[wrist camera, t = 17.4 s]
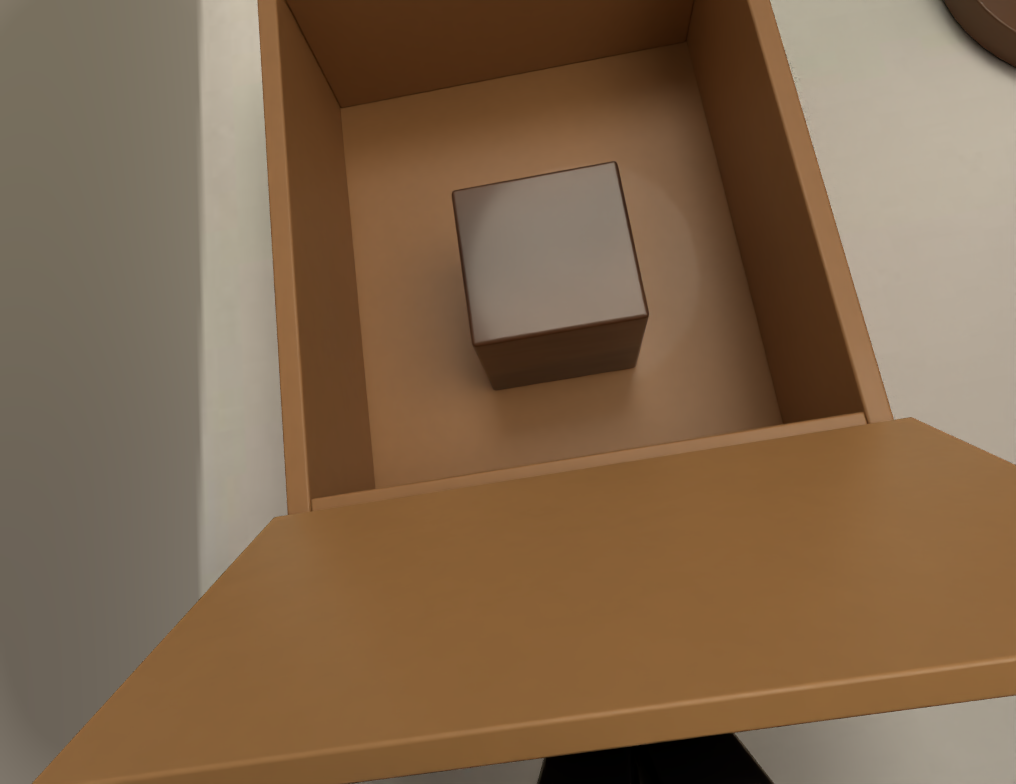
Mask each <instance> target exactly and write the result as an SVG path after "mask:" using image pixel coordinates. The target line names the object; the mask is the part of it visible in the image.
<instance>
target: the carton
mask: <svg viewBox="0 0 1016 784" xmlns="http://www.w3.org/2000/svg"><path fill="white" fill-rule="evenodd" d="M258 16H259V33H260V50H261V67H262V84H263V101H264V118H265V135H266V152H267V169H268V186H269V203H270V220H271V237H272V254H273V271H274V288H275V305H276V322H277V339H278V356H279V373H280V390H281V407H282V424H283V441H284V458H285V475H286V492H287V509H288V515H292V514H298V513H305V512H311V511H317V510H324V509H330V508H337V507H343V506H349V505H356V504H362V503H368V502H375V501H381V500H387V499H394V498H400V497H407V496H413V495H419V494H426V493H432V492H438V491H445V490H451V489H457V488H464V487H470V486H477V485H483V484H489V483H496V482H502V481H508V480H515V479H521V478H527V477H534V476H540V475H547V474H553V473H559V472H566V471H572V470H578V469H585V468H591V467H597V466H604V465H610V464H616V463H623V462H629V461H636V460H642V459H648V458H655V457H661V456H667V455H674V454H680V453H686V452H693V451H699V450H706V449H712V448H718V447H725V446H731V445H737V444H744V443H750V442H756V441H763V440H769V439H776V438H782V437H788V436H795V435H801V434H807V433H814V432H820V431H826V430H833V429H839V428H846V427H852V426H858V425H865V424H871V423H877V422H884V421H890V420H894V419H893V415H892V412H891V409H890V405H889V402H888V399H887V395H886V392H885V388H884V385H883V382H882V378H881V375H880V371H879V368H878V365H877V361H876V358H875V355H874V351H873V348H872V344H871V341H870V338H869V334H868V331H867V328H866V324H865V321H864V317H863V314H862V311H861V307H860V304H859V300H858V297H857V294H856V290H855V287H854V284H853V280H852V277H851V273H850V270H849V267H848V263H847V260H846V257H845V253H844V250H843V246H842V243H841V240H840V236H839V233H838V229H837V226H836V223H835V219H834V216H833V213H832V209H831V206H830V202H829V199H828V196H827V192H826V189H825V186H824V182H823V179H822V175H821V172H820V169H819V165H818V162H817V158H816V155H815V152H814V148H813V145H812V142H811V138H810V135H809V131H808V128H807V125H806V121H805V118H804V115H803V111H802V108H801V104H800V101H799V98H798V94H797V91H796V87H795V84H794V81H793V77H792V74H791V71H790V67H789V64H788V60H787V57H786V54H785V50H784V47H783V43H782V40H781V37H780V33H779V30H778V27H777V23H776V20H775V16H774V13H773V10H772V6H771V3H770V0H258ZM611 161H616V162H617V164H618V168H619V172H620V177H621V182H622V187H623V191H624V196H625V201H626V206H627V210H628V215H629V220H630V225H631V229H632V234H633V239H634V244H635V248H636V253H637V258H638V263H639V267H640V272H641V277H642V282H643V286H644V291H645V296H646V301H647V305H648V310H649V317H648V321H647V325H646V329H645V333H644V337H643V341H642V344H641V348H640V352H639V356H638V360H637V364H636V366H635V367H634V368H629V369H623V370H617V371H610V372H604V373H598V374H592V375H586V376H580V377H574V378H568V379H562V380H556V381H550V382H544V383H538V384H532V385H526V386H520V387H514V388H508V389H502V390H494V389H493V388H492V386H491V383H490V381H489V379H488V377H487V375H486V373H485V371H484V369H483V367H482V364H481V362H480V360H479V358H478V356H477V354H476V352H475V350H474V348H473V346H472V342H471V334H470V327H469V320H468V312H467V305H466V298H465V291H464V283H463V276H462V269H461V261H460V254H459V247H458V239H457V232H456V225H455V218H454V210H453V203H452V196H451V195H452V191H454V190H459V189H464V188H470V187H475V186H480V185H486V184H491V183H497V182H502V181H508V180H513V179H519V178H524V177H529V176H535V175H540V174H546V173H551V172H557V171H562V170H567V169H573V168H578V167H584V166H589V165H595V164H600V163H606V162H611Z"/></svg>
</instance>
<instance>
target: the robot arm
mask: <svg viewBox="0 0 1016 784" xmlns="http://www.w3.org/2000/svg"><path fill="white" fill-rule="evenodd" d="M537 784H774V783H773V781H772V780H771V779H770V778H769V776H768V775H767V774H766V772H765V771H764V770H763V769H762V767H761V766H760V765H759V764H758V762H757V761H756V760H755V759H754V757H753V756H752V755H751V754H750V752H749V751H748V750H747V749H746V747H745V746H744V745H743V743H742V742H741V741H740V740H739V738H738V737H737V736H736V735H735V733H728V734H720V735H712V736H705V737H697V738H690V739H682V740H675V741H667V742H660V743H652V744H645V745H637V746H629V747H622V748H614V749H607V750H599V751H592V752H584V753H577V754H569V755H562V756H554V757H546V758H544V760H543V763H542V767H541V771H540V774H539V778H538V782H537Z"/></svg>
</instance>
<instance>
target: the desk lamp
mask: <svg viewBox="0 0 1016 784" xmlns="http://www.w3.org/2000/svg"><path fill="white" fill-rule="evenodd" d="M944 2H945V4H946V6H947V7H948V9H949V10H950V12H951V13H952V15H953V16H954V18H955V19H956V21H957V22H958V23H959V24H960V25H961V26H962V28H963V29H964V30H965V31H966V32H967V33H968V34H969V35H970V36H971V37H972V38H973V39H974V40H975V41H977V42H978V43H979V44H980V45H981V46H982V47H984V48H985V49H986V50H988V51H989V52H991V53H992V54H994V55H995V56H997V57H998V58H1000V59H1002V60H1003V61H1005V62H1007V63H1009V64H1011V65H1013V66H1015V67H1016V0H944Z"/></svg>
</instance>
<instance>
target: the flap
mask: <svg viewBox="0 0 1016 784" xmlns="http://www.w3.org/2000/svg"><path fill="white" fill-rule="evenodd" d="M1014 695H1016V465H1015V464H1012V463H1010V462H1008V461H1006V460H1004V459H1001V458H999V457H997V456H995V455H993V454H991V453H988V452H986V451H984V450H982V449H980V448H977V447H975V446H973V445H971V444H969V443H967V442H964V441H962V440H960V439H958V438H956V437H954V436H951V435H949V434H947V433H945V432H943V431H940V430H938V429H936V428H934V427H932V426H930V425H927V424H925V423H923V422H921V421H919V420H916V419H914V418H912V417H909V418H903V419H896V420H890V421H884V422H877V423H871V424H865V425H858V426H852V427H846V428H839V429H833V430H826V431H820V432H814V433H807V434H801V435H795V436H788V437H782V438H776V439H769V440H763V441H756V442H750V443H744V444H737V445H731V446H725V447H718V448H712V449H706V450H699V451H693V452H686V453H680V454H674V455H667V456H661V457H655V458H648V459H642V460H636V461H629V462H623V463H616V464H610V465H604V466H597V467H591V468H585V469H578V470H572V471H566V472H559V473H553V474H547V475H540V476H534V477H527V478H521V479H515V480H508V481H502V482H496V483H489V484H483V485H477V486H470V487H464V488H457V489H451V490H445V491H438V492H432V493H426V494H419V495H413V496H407V497H400V498H394V499H387V500H381V501H375V502H368V503H362V504H356V505H349V506H343V507H337V508H330V509H324V510H317V511H311V512H305V513H298V514H292V515H286V516H279V517H275V518H273V519H272V520H271V521H270V522H269V524H268V525H267V526H266V527H265V528H264V529H263V530H262V531H261V532H260V533H259V535H258V536H257V537H256V538H255V539H254V540H253V541H252V542H251V543H250V544H249V546H248V547H247V548H246V549H245V550H244V551H243V552H242V553H241V554H240V555H239V557H238V558H237V559H236V560H235V561H234V562H233V563H232V564H231V565H230V566H229V568H228V569H227V570H226V571H225V572H224V573H223V574H222V575H221V576H220V577H219V578H218V580H217V581H216V582H215V583H214V584H213V585H212V586H211V587H210V588H209V589H208V591H207V592H206V593H205V594H204V595H203V596H202V597H201V598H200V599H199V600H198V602H197V603H196V604H195V605H194V606H193V607H192V608H191V609H190V610H189V611H188V613H187V614H186V615H185V616H184V617H183V618H182V619H181V620H180V621H179V622H178V624H177V625H176V626H175V627H174V628H173V629H172V630H171V631H170V632H169V633H168V635H167V636H166V637H165V638H164V639H163V640H162V641H161V642H160V643H159V644H158V645H157V647H156V648H155V649H154V650H153V651H152V652H151V653H150V654H149V655H148V656H147V658H146V659H145V660H144V661H143V662H142V663H141V664H140V665H139V666H138V668H137V669H136V670H135V671H134V672H133V673H132V674H131V675H130V676H129V677H128V678H127V680H126V681H125V682H124V683H123V684H122V685H121V686H120V687H119V688H118V689H117V691H116V692H115V693H114V694H113V695H112V696H111V697H110V698H109V699H108V700H107V701H106V703H105V704H104V705H103V706H102V707H101V708H100V709H99V710H98V711H97V712H96V714H95V715H94V716H93V717H92V718H91V719H90V720H89V721H88V722H87V724H86V725H85V726H84V727H83V728H82V729H81V730H80V731H79V732H78V733H77V734H76V736H75V737H74V738H73V739H72V740H71V741H70V742H69V743H68V744H67V745H66V747H65V748H64V749H63V750H62V751H61V752H60V753H59V754H58V755H57V757H55V759H54V760H53V761H52V762H51V763H50V764H49V765H48V766H47V768H45V770H44V771H43V772H42V773H41V774H40V775H39V776H38V777H37V778H36V779H35V781H34V782H33V783H32V784H350V783H358V782H365V781H373V780H380V779H388V778H396V777H403V776H411V775H418V774H426V773H433V772H441V771H448V770H456V769H463V768H471V767H479V766H486V765H494V764H501V763H509V762H516V761H524V760H531V759H539V758H546V757H554V756H562V755H569V754H577V753H584V752H592V751H599V750H607V749H614V748H622V747H629V746H637V745H645V744H652V743H660V742H667V741H675V740H682V739H690V738H697V737H705V736H712V735H720V734H728V733H735V732H743V731H750V730H758V729H765V728H773V727H780V726H788V725H795V724H803V723H811V722H818V721H826V720H833V719H841V718H848V717H856V716H863V715H871V714H878V713H886V712H894V711H901V710H909V709H916V708H924V707H931V706H939V705H946V704H954V703H961V702H969V701H977V700H984V699H992V698H999V697H1007V696H1014Z"/></svg>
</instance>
